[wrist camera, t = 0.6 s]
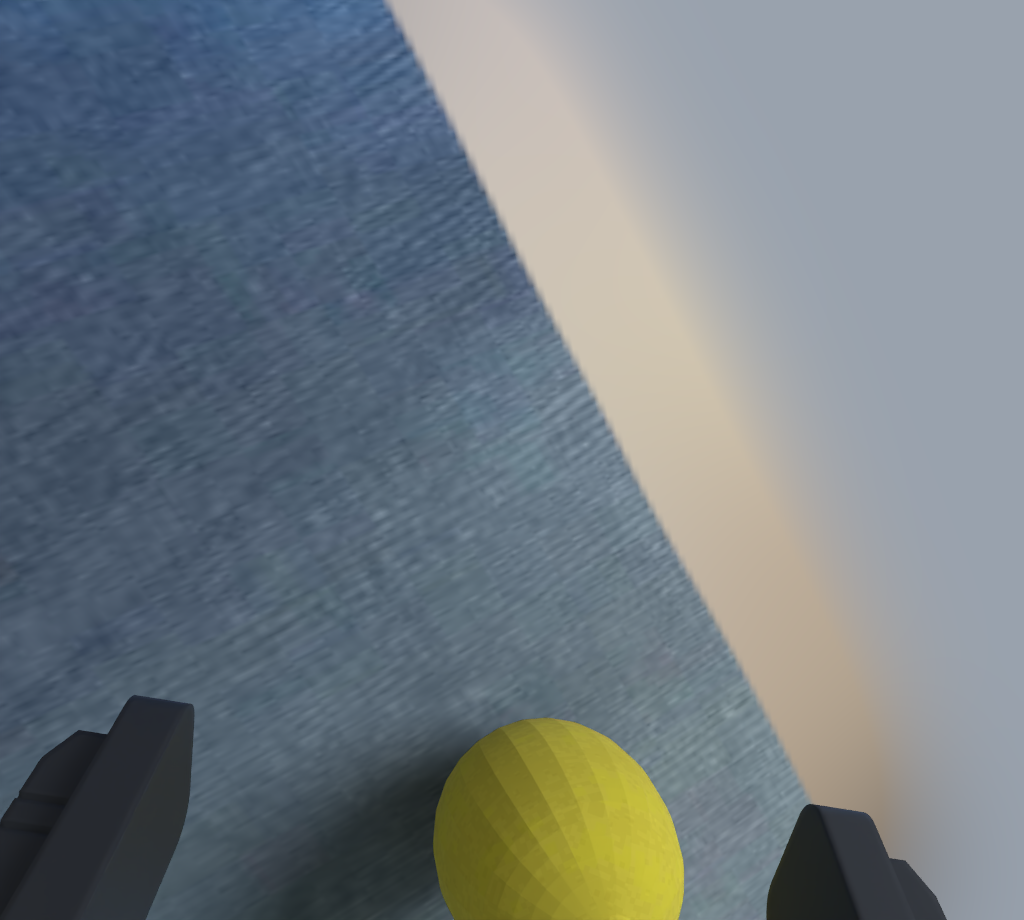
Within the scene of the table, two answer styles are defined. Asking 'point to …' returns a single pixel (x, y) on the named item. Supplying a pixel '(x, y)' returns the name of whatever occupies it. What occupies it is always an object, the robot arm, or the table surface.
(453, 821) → the lemon
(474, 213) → the table surface
